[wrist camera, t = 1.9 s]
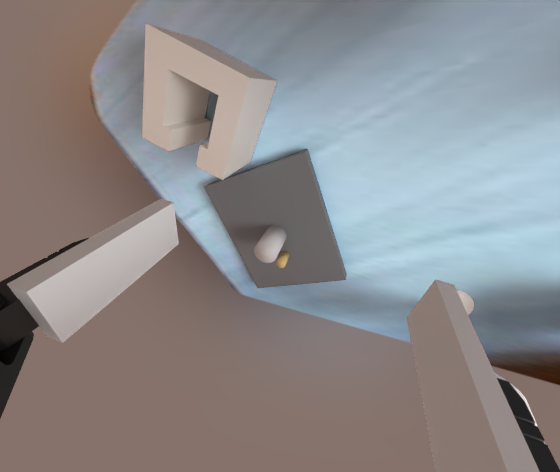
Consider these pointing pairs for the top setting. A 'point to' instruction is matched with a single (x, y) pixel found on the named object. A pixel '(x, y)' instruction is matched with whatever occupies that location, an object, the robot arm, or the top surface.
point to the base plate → (279, 222)
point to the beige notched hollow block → (202, 100)
